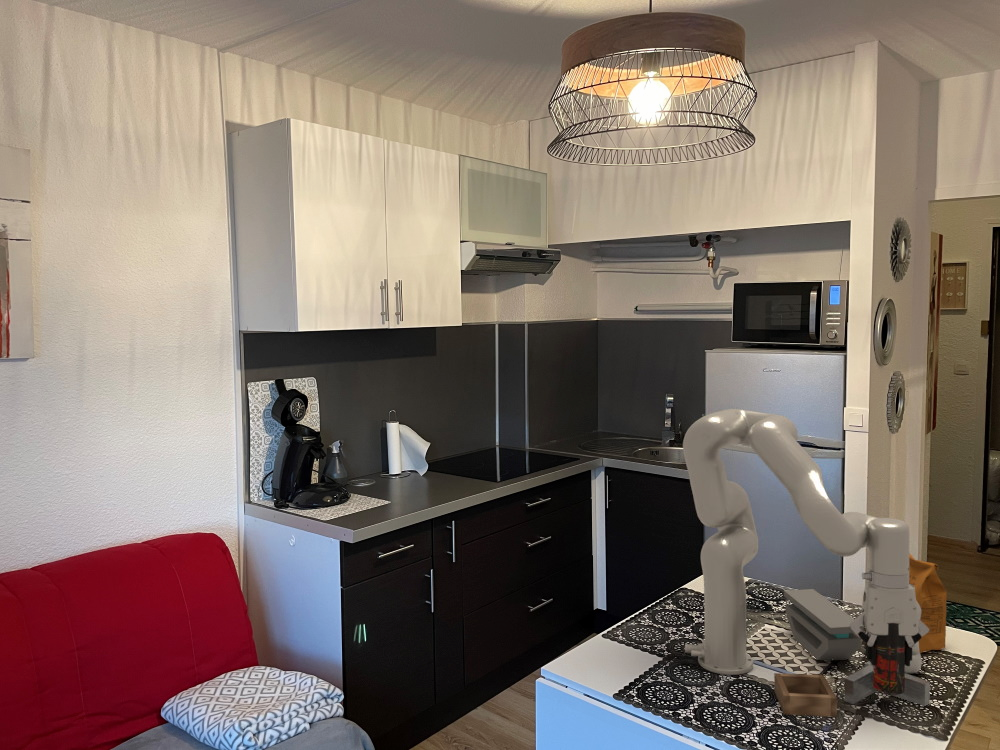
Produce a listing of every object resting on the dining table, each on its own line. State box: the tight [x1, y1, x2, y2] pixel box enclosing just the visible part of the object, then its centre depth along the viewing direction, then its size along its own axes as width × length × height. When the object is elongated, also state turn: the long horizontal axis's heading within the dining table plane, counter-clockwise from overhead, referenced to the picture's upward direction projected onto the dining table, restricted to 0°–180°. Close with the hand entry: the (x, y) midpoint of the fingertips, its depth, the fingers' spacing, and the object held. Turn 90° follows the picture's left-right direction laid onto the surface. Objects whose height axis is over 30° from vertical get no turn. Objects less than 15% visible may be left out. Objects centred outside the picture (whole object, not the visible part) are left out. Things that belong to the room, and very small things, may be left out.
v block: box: [843, 660, 931, 706], centre depth 172 cm, size 17×11×5 cm
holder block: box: [773, 672, 838, 718], centre depth 168 cm, size 10×10×4 cm
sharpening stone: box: [783, 588, 865, 661], centre depth 194 cm, size 25×8×11 cm, turn 4°
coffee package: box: [909, 552, 948, 654], centre depth 196 cm, size 10×12×22 cm
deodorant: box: [873, 623, 905, 696], centre depth 166 cm, size 6×6×15 cm
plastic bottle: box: [905, 584, 923, 675], centre depth 181 cm, size 6×7×20 cm
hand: (888, 662), depth 166 cm, fingers closed on deodorant, 5 cm apart
